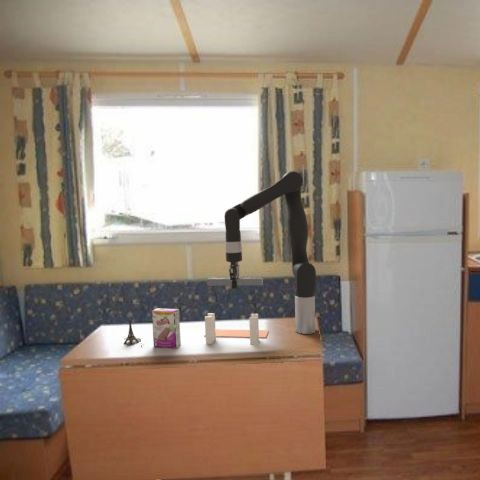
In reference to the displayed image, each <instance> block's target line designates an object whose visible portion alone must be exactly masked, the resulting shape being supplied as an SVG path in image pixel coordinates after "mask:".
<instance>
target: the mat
mask: <svg viewBox="0 0 480 480" xmlns="http://www.w3.org/2000/svg"><path fill="white" fill-rule="evenodd" d="M215 331H216V338H238V339H239V338H243V339H245V338H246V339H248V338H249V339H250V329H225V328H224V329H220V328H219V329H217V328H215ZM268 334H269V329H259V339H267V337H268ZM203 336H204V338H206V334H205V335H203Z"/></svg>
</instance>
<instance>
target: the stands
mask: <svg viewBox="0 0 480 480" xmlns="http://www.w3.org/2000/svg"><path fill="white" fill-rule="evenodd" d="M215 314H216V313H214V312H213V313H212V312H210V313H207V316H206V315H205V316H204V327H205V328H204V329H205V332H204V333H205V335H206V337H205V344H210V345H212V344H213V345H214V342H215V341H216V340H217V337H216V331H215V329H216V316H215ZM259 326H260V325H259V313H251V314H250V316H249V330H250V338H249V341H250V342H249V343H250V345H254V346H255V345H257V346H258V343H259V341H260V338H259V330H260V328H259Z"/></svg>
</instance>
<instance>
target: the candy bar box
mask: <svg viewBox="0 0 480 480" xmlns="http://www.w3.org/2000/svg"><path fill="white" fill-rule="evenodd" d="M151 320H152V322H151V323H152V337H153V338H152V340H153V341H152V342H153V347H154V348H155V347H156V348H157V347H158V348H168V349H169V348H170V349H176V348H178V347H180V346H181V345H182V344H181V343H182V342H181V330H180V329H181V327H180V326H181V324H180V323H181V322H180V309H179V308H178V309H177V308H164V307H163V308H162V307H158V308H155V309H153V310H151Z"/></svg>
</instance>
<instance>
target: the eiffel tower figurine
mask: <svg viewBox="0 0 480 480" xmlns="http://www.w3.org/2000/svg"><path fill="white" fill-rule="evenodd" d="M128 319H129V320H128V321H129V323H128V325H129V327H128V334H127V337H126V338H125V340H124V342H123V345H125V344H127V345H126V346H130V347H132V346H134V345H137V344H140V343H139V342H141V339H142V338H141V337H140V338H141V339H140V338H139V337H137V338H136V336H135V334H134V331H133V328H132V320H131V319H132V318H131V317H129V318H128ZM140 346H141V347H142V345H140ZM142 348H143V347H142Z"/></svg>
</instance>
